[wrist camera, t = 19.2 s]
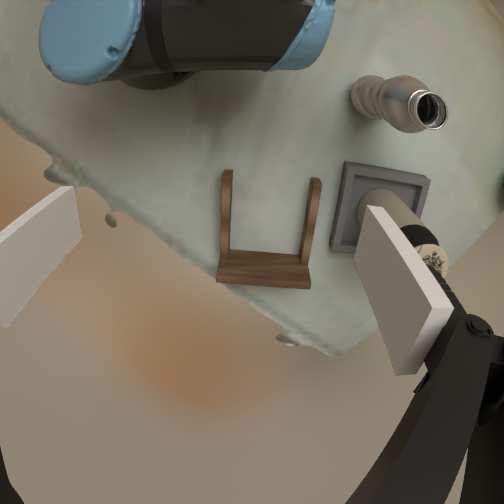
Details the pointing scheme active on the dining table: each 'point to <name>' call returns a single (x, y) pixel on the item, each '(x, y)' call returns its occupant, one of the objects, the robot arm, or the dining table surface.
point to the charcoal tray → (362, 182)
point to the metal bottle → (399, 103)
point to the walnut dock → (263, 263)
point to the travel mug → (407, 227)
